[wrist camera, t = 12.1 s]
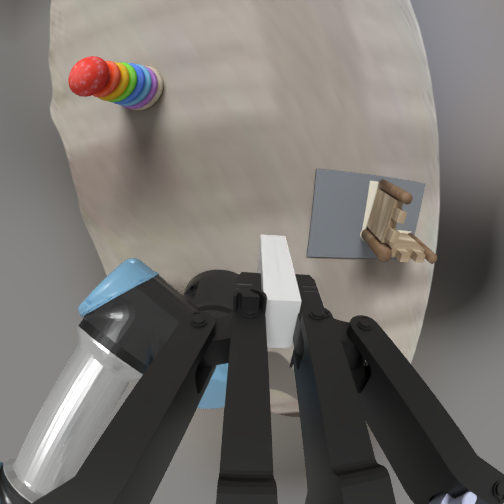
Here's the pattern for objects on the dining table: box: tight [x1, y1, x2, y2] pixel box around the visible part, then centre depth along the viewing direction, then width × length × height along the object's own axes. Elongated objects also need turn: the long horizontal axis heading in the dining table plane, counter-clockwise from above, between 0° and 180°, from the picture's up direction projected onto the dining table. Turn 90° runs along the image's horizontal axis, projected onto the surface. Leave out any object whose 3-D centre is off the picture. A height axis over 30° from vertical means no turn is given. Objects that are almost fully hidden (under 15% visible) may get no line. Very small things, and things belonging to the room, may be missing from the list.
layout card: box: [307, 169, 425, 259], centre depth 46 cm, size 16×22×1 cm
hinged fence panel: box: [367, 179, 413, 244], centre depth 40 cm, size 2×9×9 cm, turn 171°
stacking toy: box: [69, 56, 163, 110], centre depth 28 cm, size 8×8×19 cm
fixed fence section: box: [361, 228, 437, 264], centre depth 43 cm, size 2×12×10 cm, turn 88°
